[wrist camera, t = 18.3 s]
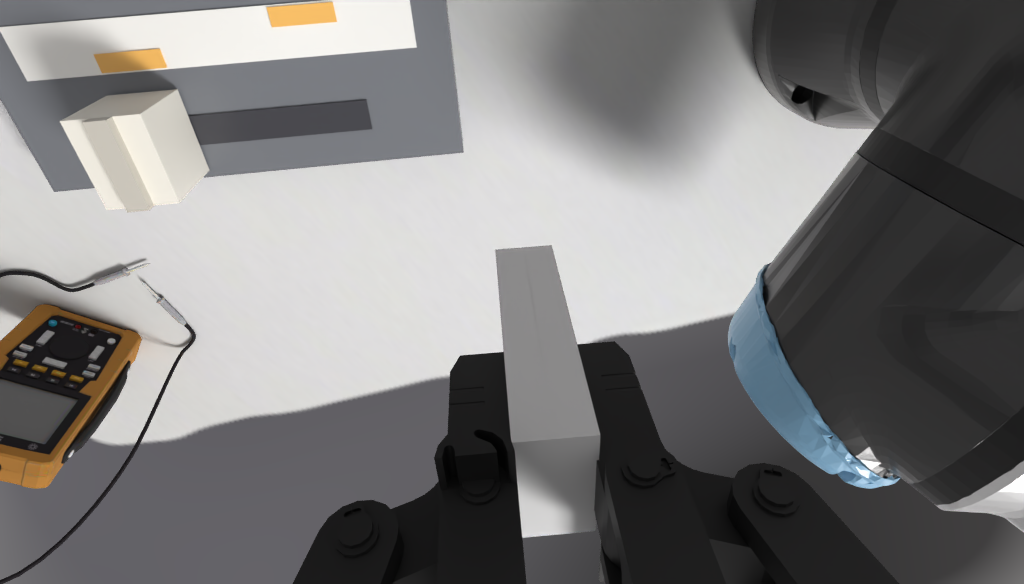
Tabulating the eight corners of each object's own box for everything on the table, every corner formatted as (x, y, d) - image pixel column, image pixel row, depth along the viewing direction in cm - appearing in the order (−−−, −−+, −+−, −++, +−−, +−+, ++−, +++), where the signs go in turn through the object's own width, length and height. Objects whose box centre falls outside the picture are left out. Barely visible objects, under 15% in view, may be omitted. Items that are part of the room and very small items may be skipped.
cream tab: (177, 89, 32) (134, 117, 28) (209, 170, 35) (175, 207, 31) (107, 95, 32) (52, 125, 28) (145, 176, 35) (101, 215, 30)
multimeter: (217, 284, 43) (77, 515, 27) (185, 370, 47) (47, 614, 31) (-9, 201, 38) (-360, 426, 21) (-22, 307, 42) (-321, 561, 26)
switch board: (428, -157, 29) (426, -163, 27) (462, 139, 38) (463, 153, 36) (-87, -121, 28) (-132, -124, 26) (75, 176, 37) (52, 193, 35)
